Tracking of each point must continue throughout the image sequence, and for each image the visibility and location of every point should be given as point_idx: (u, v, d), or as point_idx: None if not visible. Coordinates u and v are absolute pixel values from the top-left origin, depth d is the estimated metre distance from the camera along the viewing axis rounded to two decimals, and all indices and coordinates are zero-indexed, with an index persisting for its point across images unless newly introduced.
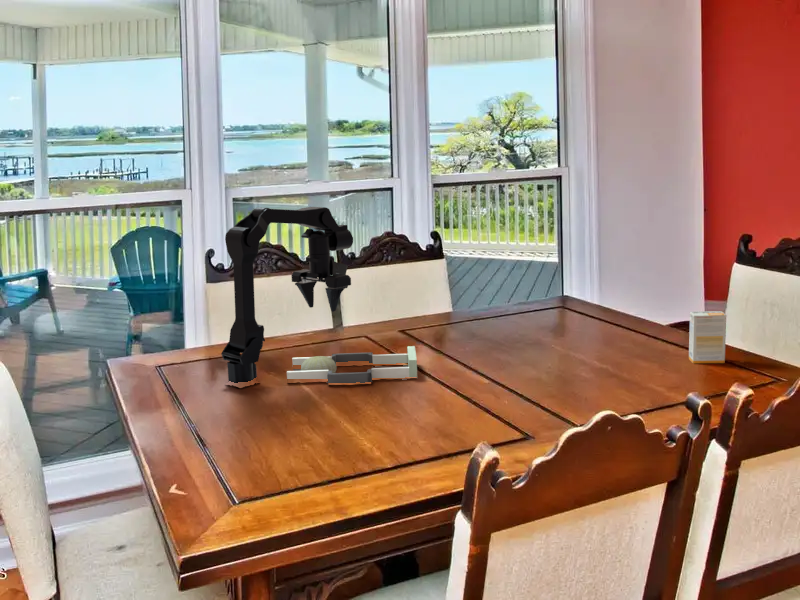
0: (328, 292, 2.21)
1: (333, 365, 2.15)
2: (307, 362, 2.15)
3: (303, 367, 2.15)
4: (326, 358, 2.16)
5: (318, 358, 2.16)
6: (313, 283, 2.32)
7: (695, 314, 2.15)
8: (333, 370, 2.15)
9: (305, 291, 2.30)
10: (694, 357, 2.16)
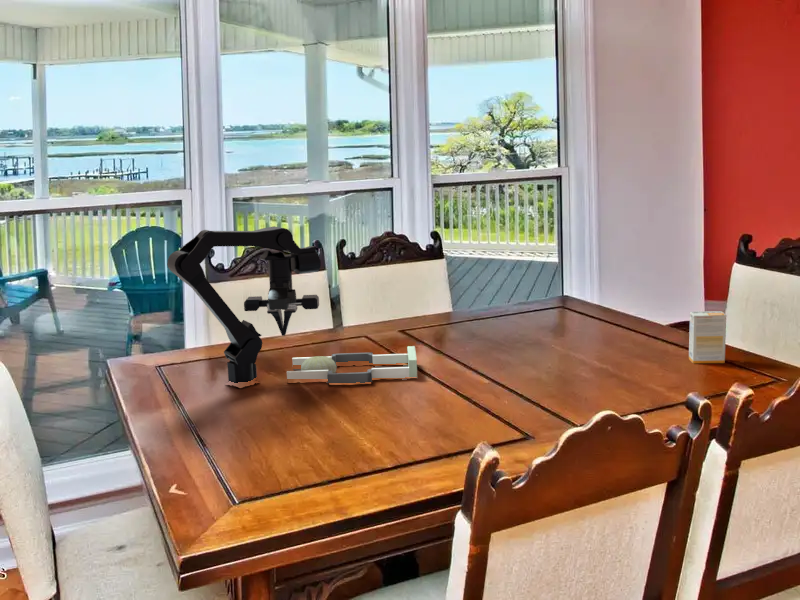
0: None
1: (333, 365, 2.15)
2: (307, 362, 2.15)
3: (303, 367, 2.15)
4: (326, 358, 2.16)
5: (318, 358, 2.16)
6: (284, 312, 2.12)
7: (695, 314, 2.15)
8: (333, 370, 2.15)
9: None
10: (694, 357, 2.16)
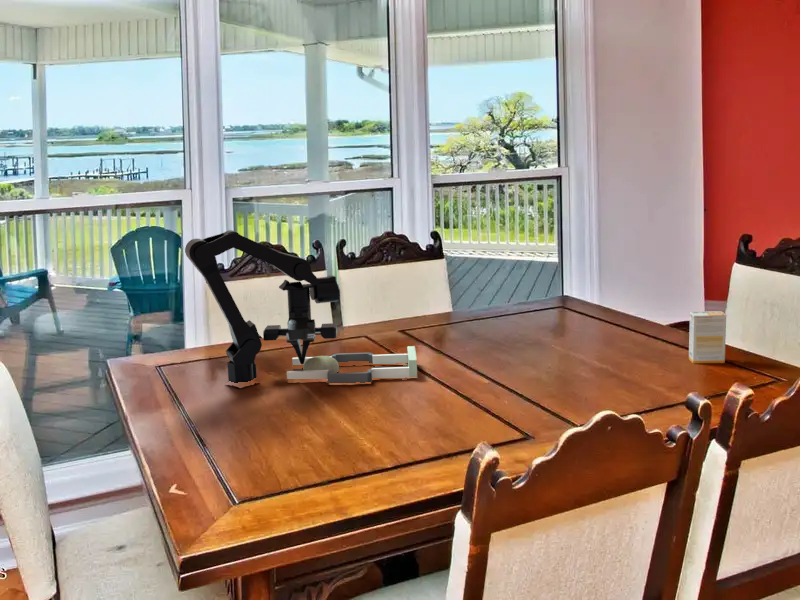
0: None
1: (336, 365, 2.15)
2: (310, 362, 2.15)
3: (306, 367, 2.15)
4: (329, 358, 2.16)
5: (320, 358, 2.16)
6: (303, 341, 2.14)
7: (695, 314, 2.15)
8: (336, 370, 2.15)
9: None
10: (694, 357, 2.16)
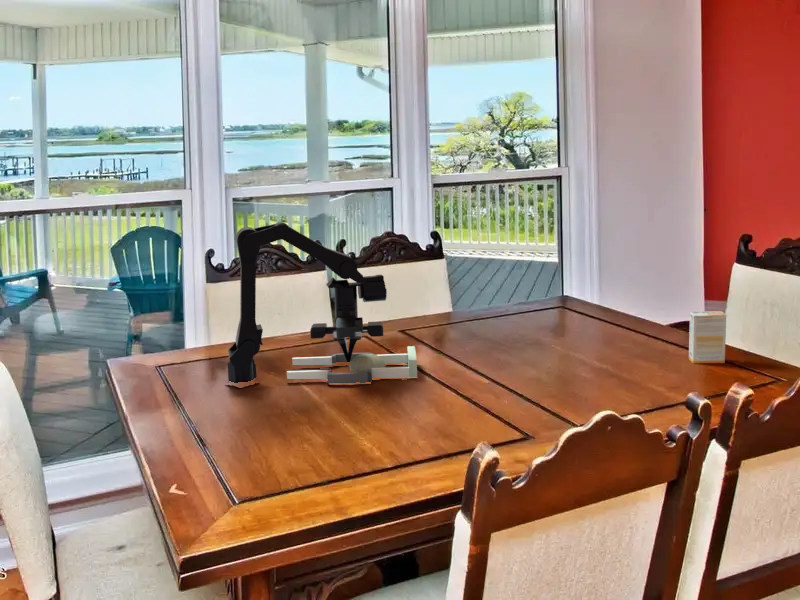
0: None
1: (382, 363, 2.15)
2: (356, 360, 2.15)
3: (352, 365, 2.15)
4: (375, 356, 2.16)
5: (366, 356, 2.16)
6: None
7: (695, 314, 2.15)
8: None
9: None
10: (694, 357, 2.16)
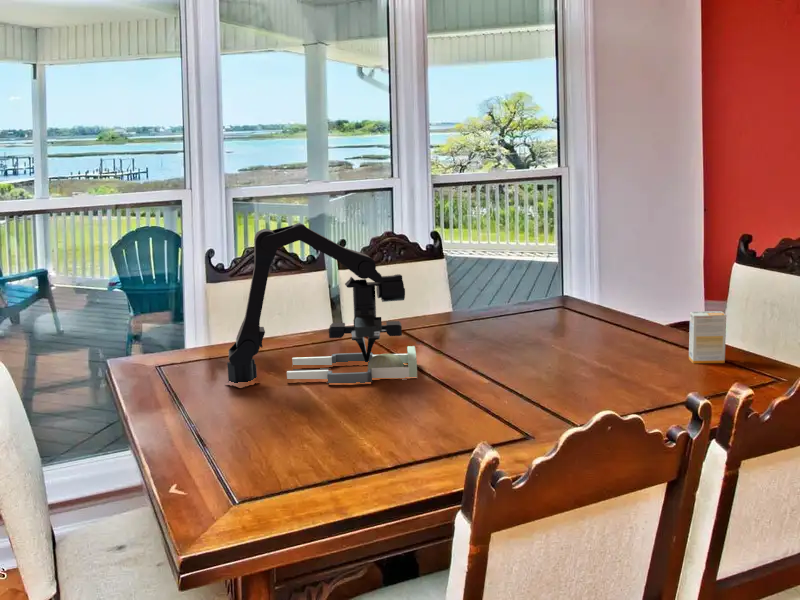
0: None
1: (401, 363, 2.15)
2: (375, 360, 2.15)
3: (371, 365, 2.15)
4: (393, 356, 2.16)
5: (385, 355, 2.16)
6: (368, 338, 2.14)
7: (695, 314, 2.15)
8: None
9: None
10: (694, 357, 2.16)
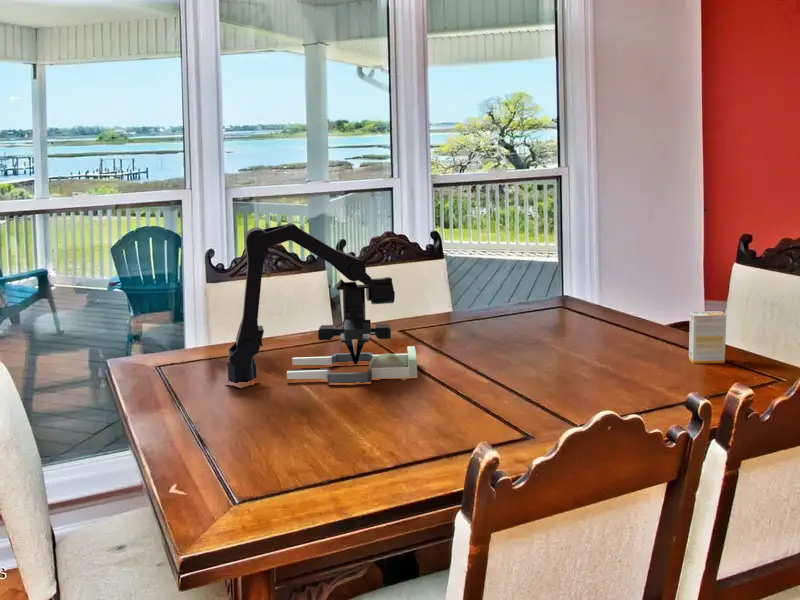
0: None
1: (402, 363, 2.15)
2: (376, 360, 2.15)
3: (372, 365, 2.15)
4: (395, 356, 2.16)
5: (386, 355, 2.16)
6: None
7: (695, 314, 2.15)
8: None
9: None
10: (694, 357, 2.16)
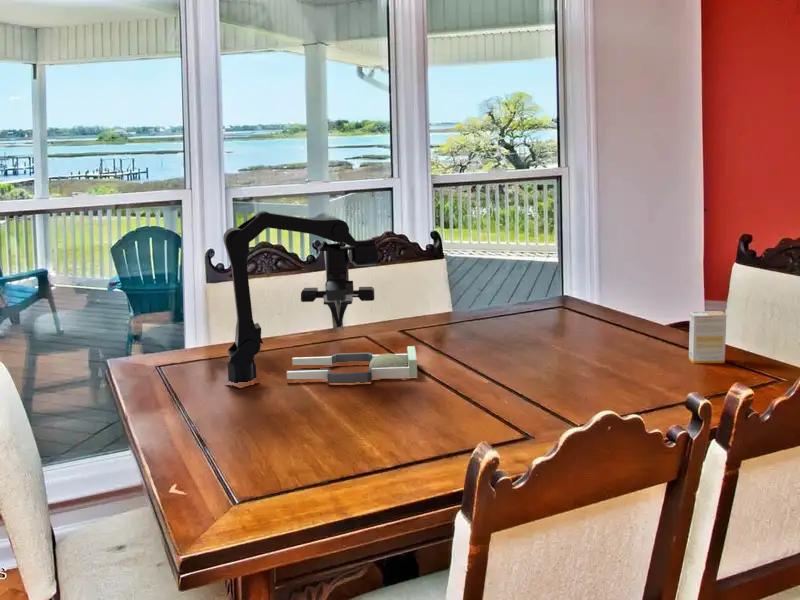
0: None
1: (402, 362, 2.15)
2: (376, 360, 2.15)
3: (372, 365, 2.15)
4: (395, 355, 2.16)
5: (386, 355, 2.16)
6: (340, 303, 2.13)
7: (695, 314, 2.15)
8: None
9: None
10: (694, 357, 2.16)
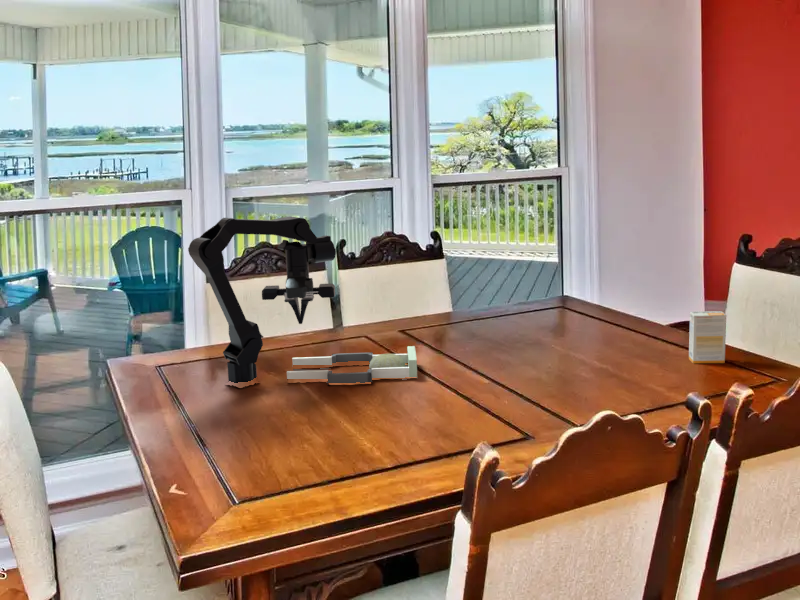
0: None
1: (402, 363, 2.15)
2: (376, 360, 2.15)
3: (372, 365, 2.15)
4: (395, 356, 2.16)
5: (386, 356, 2.16)
6: (301, 300, 2.16)
7: (695, 314, 2.15)
8: None
9: None
10: (694, 357, 2.16)
